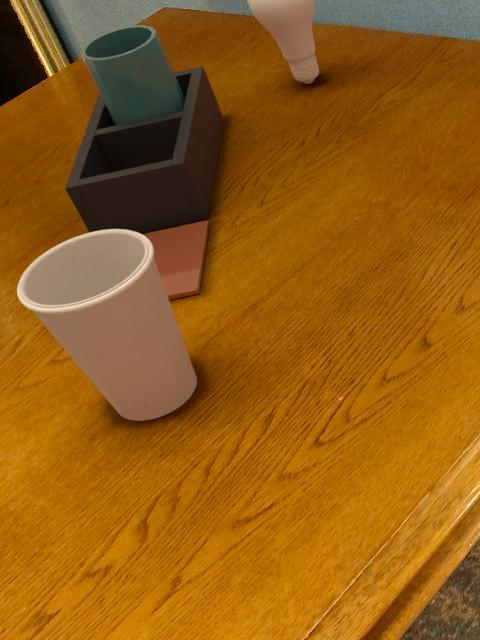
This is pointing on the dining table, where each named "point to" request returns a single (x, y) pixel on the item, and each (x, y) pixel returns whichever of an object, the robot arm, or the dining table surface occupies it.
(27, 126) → the dining table surface
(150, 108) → the cup
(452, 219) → the dining table surface
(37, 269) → the dixie cup
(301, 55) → the lightbulb
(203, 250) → the coaster
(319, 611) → the dining table surface
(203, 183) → the divided storage box
